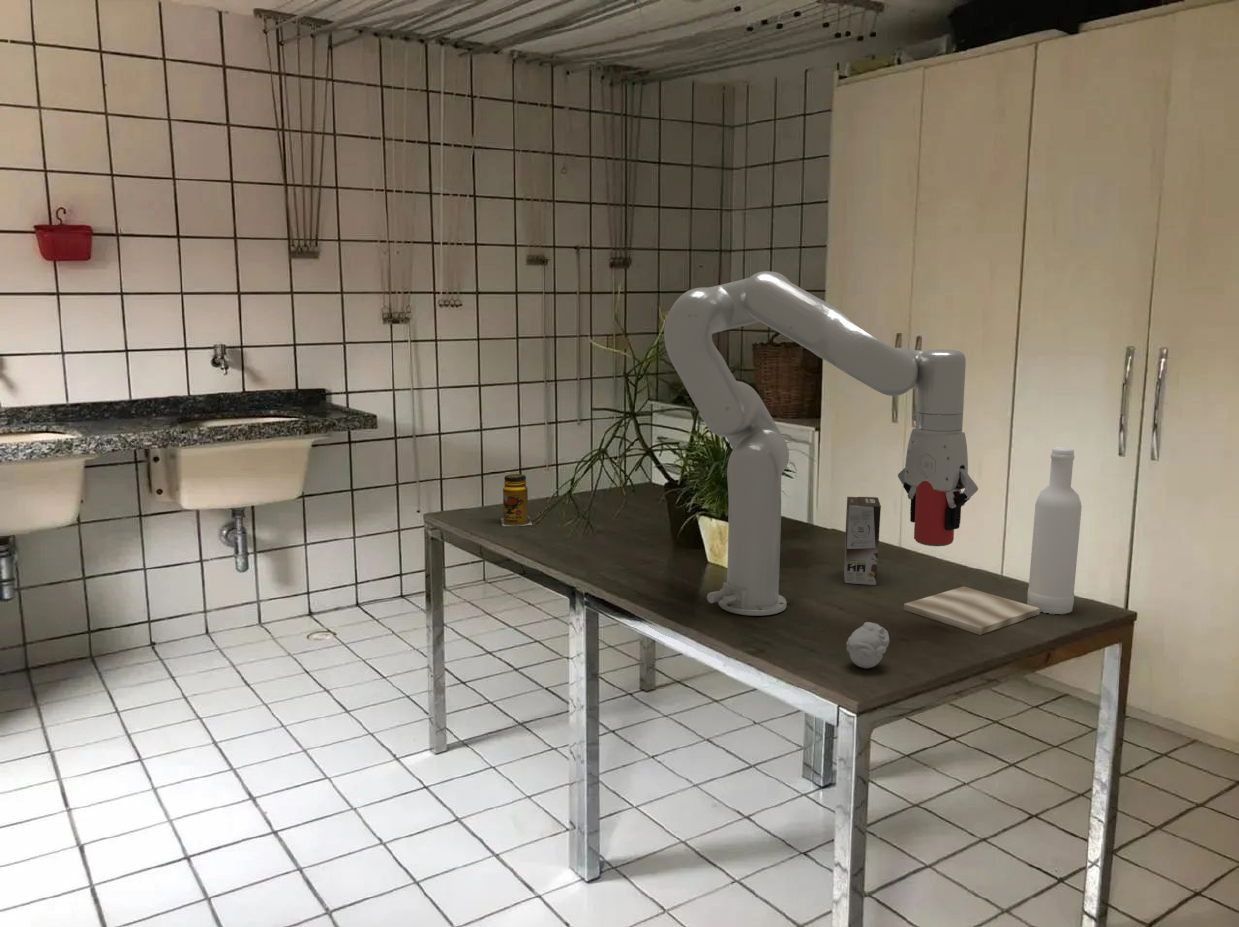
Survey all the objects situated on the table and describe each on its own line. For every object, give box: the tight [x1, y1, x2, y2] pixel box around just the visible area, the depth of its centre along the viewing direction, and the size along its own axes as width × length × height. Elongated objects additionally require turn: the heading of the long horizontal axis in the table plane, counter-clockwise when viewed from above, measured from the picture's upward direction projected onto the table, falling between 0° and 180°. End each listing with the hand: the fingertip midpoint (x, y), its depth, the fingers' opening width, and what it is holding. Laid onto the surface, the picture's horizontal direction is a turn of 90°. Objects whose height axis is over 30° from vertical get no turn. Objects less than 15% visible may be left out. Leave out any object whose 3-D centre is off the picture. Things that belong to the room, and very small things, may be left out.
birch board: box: [903, 585, 1041, 636], centre depth 182 cm, size 18×16×1 cm
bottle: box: [1026, 446, 1083, 615], centre depth 182 cm, size 8×8×30 cm
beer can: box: [913, 477, 955, 547], centre depth 173 cm, size 7×7×12 cm
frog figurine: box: [846, 621, 890, 669], centre depth 156 cm, size 6×7×7 cm
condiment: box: [500, 473, 533, 527], centre depth 247 cm, size 7×8×12 cm
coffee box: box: [843, 496, 882, 586], centre depth 202 cm, size 9×6×16 cm
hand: (934, 524), depth 173 cm, fingers closed on beer can, 6 cm apart
